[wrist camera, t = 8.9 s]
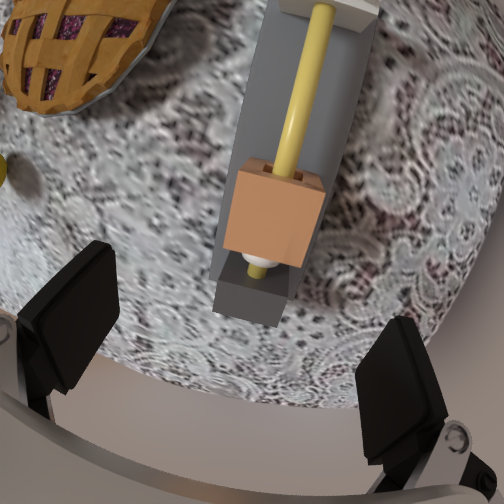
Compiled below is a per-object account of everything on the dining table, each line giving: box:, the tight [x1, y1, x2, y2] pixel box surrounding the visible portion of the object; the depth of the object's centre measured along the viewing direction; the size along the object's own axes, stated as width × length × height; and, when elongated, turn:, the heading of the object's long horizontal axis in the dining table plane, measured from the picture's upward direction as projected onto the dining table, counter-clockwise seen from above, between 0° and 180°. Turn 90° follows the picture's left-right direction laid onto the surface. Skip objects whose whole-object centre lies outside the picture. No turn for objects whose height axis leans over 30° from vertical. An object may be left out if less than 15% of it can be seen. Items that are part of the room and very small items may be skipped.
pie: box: [0, 0, 177, 118], centre depth 13 cm, size 22×22×5 cm
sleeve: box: [223, 157, 326, 268], centre depth 19 cm, size 5×5×5 cm
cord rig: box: [209, 0, 381, 328], centre depth 17 cm, size 26×8×7 cm, turn 168°
